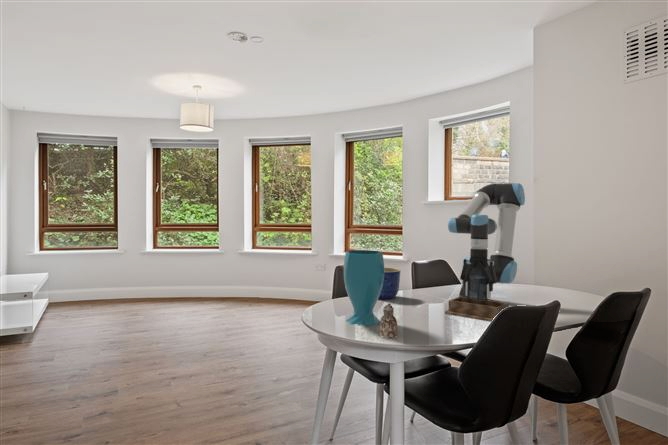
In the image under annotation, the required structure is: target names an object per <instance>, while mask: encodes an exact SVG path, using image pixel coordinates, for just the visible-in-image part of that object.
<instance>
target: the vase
mask: <svg viewBox="0 0 668 445" xmlns="http://www.w3.org/2000/svg"><path fill="white" fill-rule="evenodd" d="M344 254H345V255H344V263H343V281H344V286H345V291H346V294H347V296H348V299H349V301H350V304H351V305H352V308H353V312H352V315H351V317H349V318H348V319H346V320H347V321H348V322H349V323H350V325H354V324H358V325H357V326H360V325H365V326H375V324H376V325H378V324H380V323H379V322H380V321H381V320H380V319H379V318H378V317H377V316H376V315H375V313H374V308H375V306H376V304H377V302H378V300H379V299H380V298H379V296H380V293H381V290H382V286H383V281H384V267H385V262H384V261H385V260H384V255H383V252H381V251H379V250H366V249H365V250H363V249H361V250H359V249H358V250H349V251H345V253H344ZM347 321H346V322H347ZM348 322H347V323H348ZM349 323H348V324H349ZM377 323H378V324H377Z"/></svg>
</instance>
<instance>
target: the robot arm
mask: <svg viewBox="0 0 668 445" xmlns="http://www.w3.org/2000/svg"><path fill="white" fill-rule="evenodd" d="M525 197H526V196H525V189H524V187H523V185H522V184H521V183H515V182H511V183H509V182H508V183H490V184H487V185H485V186H483V187H481V188H479V189H478V190H476V192H474V194H473V195H472V197H471V198H472V199H471V200H470V201H469V203H468V204H467V205H466V206H465V208H464V209H463V210H462V212H461V213H459V215H458V216H457V217H451V218H450V219H448V222H447V228H448V231H449V232H450V233H452V234H469V235H470V252H469V253H470V255H469V256H468V257H464V258H463V260H462V266H461V267H462V269H461V273H460V278H459V280H462V285H461V288H460V291H459V293H458V297H460V296H461V297H468V277H469V276H474V275H478V276H483V277H486V279H487V281H488V283H489V284H487V299H488V300H489V299H491V298H492V292H493V290H494V284H499V283H500V284H511V283H513V281H514V280H515V278H516V275H517V271H518V264H517V261H515V258H514V257H513V255H512V251H513V243H514V237H515V236H514V235H515V227H516V218H517V212H518V211H520V210H521V206H523V205H525V202H526V198H525ZM489 206H496V207H497V209H498V210H499V212H498V218H497V222H496V220H494V219H492V218H489V215H488V214H481V213H482V211H483V210H484V209H485V208H488V207H489ZM494 233H496V234H495V242H494V249H493V250H494V251H493V253H491V254H490V256H488V248H489V247H488V245H489V235H492V234H494ZM488 257H489V258H488Z"/></svg>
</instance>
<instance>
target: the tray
mask: <svg viewBox="0 0 668 445" xmlns="http://www.w3.org/2000/svg"><path fill="white" fill-rule="evenodd" d="M506 307H508V308H509V303H508V302H500V301H494V300H489V299H488V301H477V300H474V299H470V298H468V297H461V296H460V297H459V296H457V297H454V298H452V299H449V300H448V310H445V311H444V314H446V315H451V316H456V317H457V316H458V317H463V318H469V319H472V320H473V319H474V320H480V321H486V322H491V321H492V320H493V318H494V317H495V316H496V315H497V314H498V313H499V312H500V311H501V310H502V309H504V308H506Z"/></svg>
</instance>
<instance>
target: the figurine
mask: <svg viewBox="0 0 668 445" xmlns="http://www.w3.org/2000/svg"><path fill="white" fill-rule="evenodd" d="M394 310H395V309H394V307H393V305H392V304H391V303H388V304H386V305H385V306H384V307H383V311H382V312H383V315H382V317H381V318H380V320H379V321H380V323H379V330H378V335H381V336H383V337H396V336H397V337H398V334H399V329H398V321H397V318H396V316H394ZM381 336H380V337H381ZM383 337H382V338H383ZM397 337H396V338H397Z"/></svg>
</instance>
